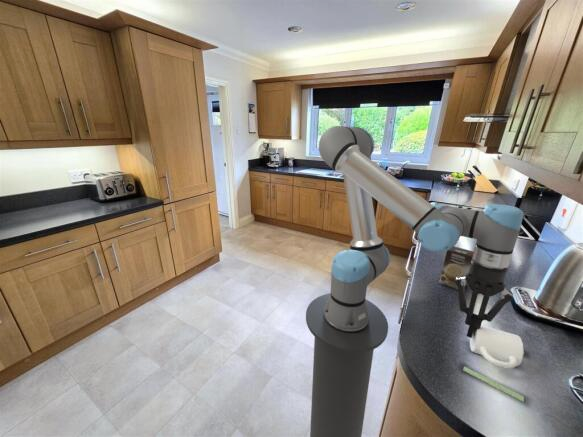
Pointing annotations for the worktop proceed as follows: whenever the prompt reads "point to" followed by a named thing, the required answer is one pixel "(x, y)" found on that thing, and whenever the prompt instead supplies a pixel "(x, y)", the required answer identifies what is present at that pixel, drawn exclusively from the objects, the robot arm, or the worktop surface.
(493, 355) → the mug
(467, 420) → the worktop surface
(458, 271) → the coffee box
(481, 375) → the strips
